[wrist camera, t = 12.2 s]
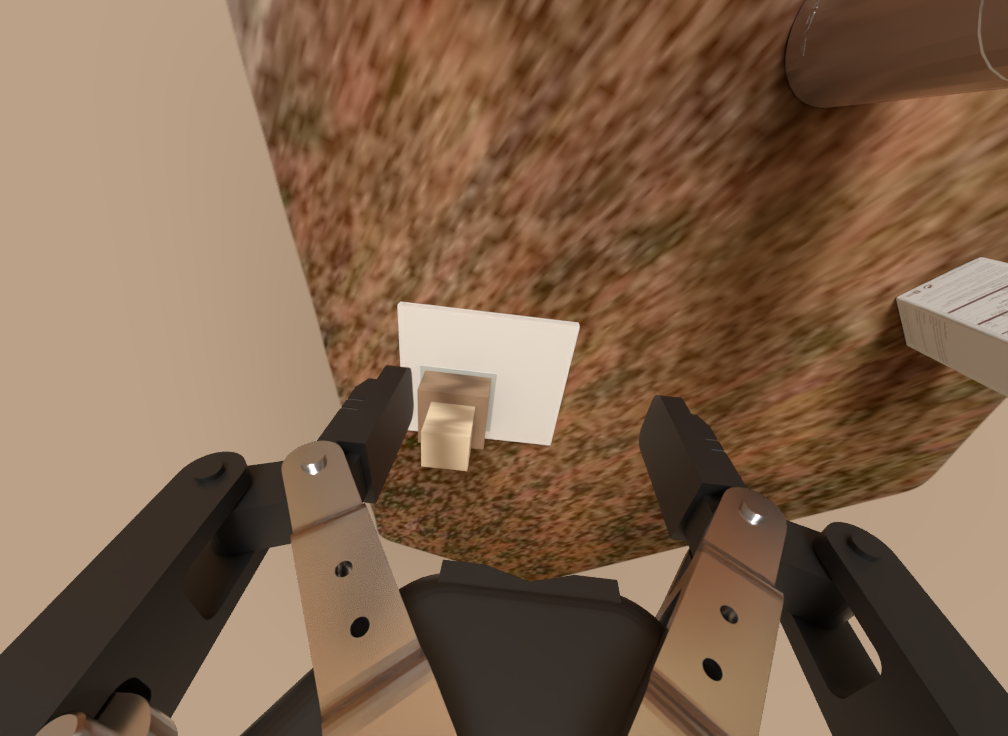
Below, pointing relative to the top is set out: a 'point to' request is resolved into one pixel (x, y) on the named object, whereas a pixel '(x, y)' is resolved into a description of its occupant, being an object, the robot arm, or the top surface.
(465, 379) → the walnut base
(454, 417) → the maple cube
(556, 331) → the plate
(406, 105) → the top surface
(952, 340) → the supplement box
